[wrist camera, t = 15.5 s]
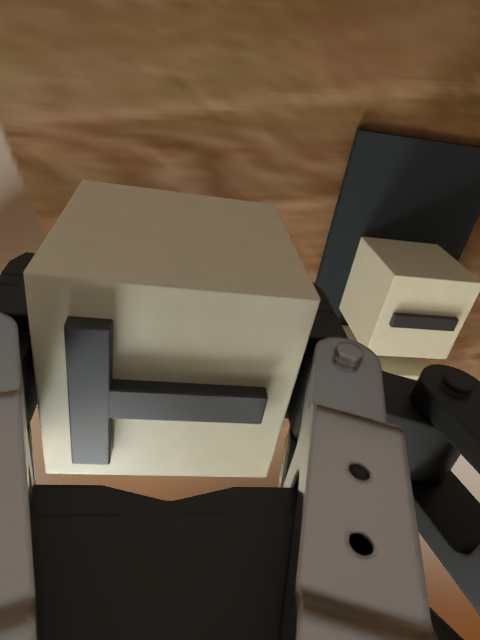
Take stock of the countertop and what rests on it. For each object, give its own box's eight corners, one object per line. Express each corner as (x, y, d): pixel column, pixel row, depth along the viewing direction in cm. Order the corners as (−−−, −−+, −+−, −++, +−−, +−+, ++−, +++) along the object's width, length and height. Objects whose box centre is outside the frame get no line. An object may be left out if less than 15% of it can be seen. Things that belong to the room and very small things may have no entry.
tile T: (81, 178, 10) (15, 281, 6) (274, 203, 11) (326, 308, 7) (86, 339, 13) (40, 487, 9) (243, 349, 14) (269, 489, 9)
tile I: (361, 235, 24) (397, 278, 20) (437, 244, 25) (487, 285, 21) (338, 308, 27) (367, 358, 22) (409, 313, 27) (449, 362, 23)
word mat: (356, 128, 21) (359, 129, 21) (502, 150, 23) (507, 152, 22) (291, 370, 29) (292, 374, 29) (402, 375, 31) (405, 379, 30)
